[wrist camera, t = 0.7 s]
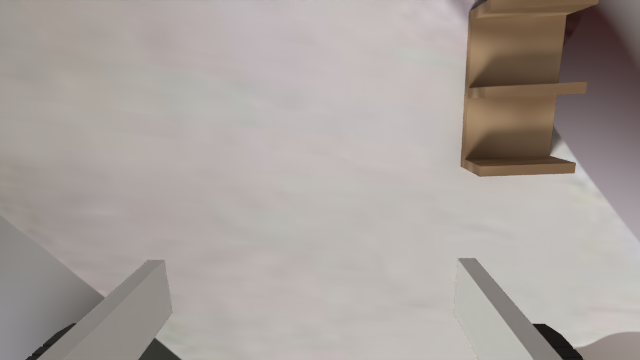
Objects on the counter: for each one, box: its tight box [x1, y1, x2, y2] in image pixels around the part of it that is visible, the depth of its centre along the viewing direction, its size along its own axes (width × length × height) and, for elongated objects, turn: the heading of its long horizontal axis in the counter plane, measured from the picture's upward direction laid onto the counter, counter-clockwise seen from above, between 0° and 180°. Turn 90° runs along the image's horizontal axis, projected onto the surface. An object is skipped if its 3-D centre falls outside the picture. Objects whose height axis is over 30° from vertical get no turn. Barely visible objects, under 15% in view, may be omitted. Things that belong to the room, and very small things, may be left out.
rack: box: [461, 0, 598, 177], centre depth 33 cm, size 16×9×5 cm, turn 3°
